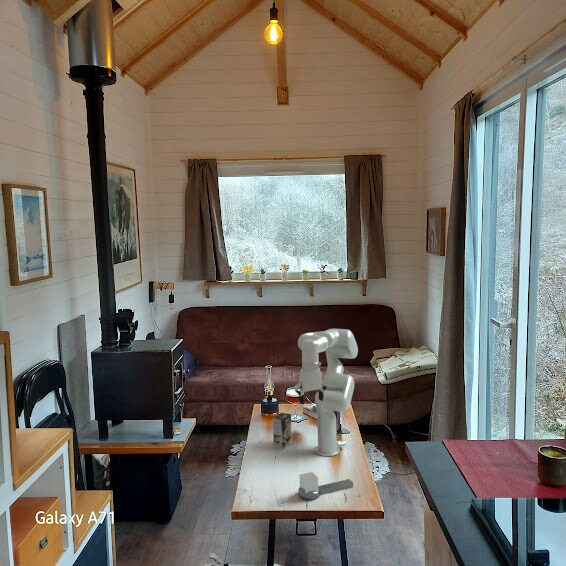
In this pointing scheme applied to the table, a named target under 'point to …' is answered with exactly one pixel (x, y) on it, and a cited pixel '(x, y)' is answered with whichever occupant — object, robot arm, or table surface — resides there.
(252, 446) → the table surface
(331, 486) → the ratchet
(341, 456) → the table surface
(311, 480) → the brushed grey cube
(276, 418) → the coffee box
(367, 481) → the table surface
